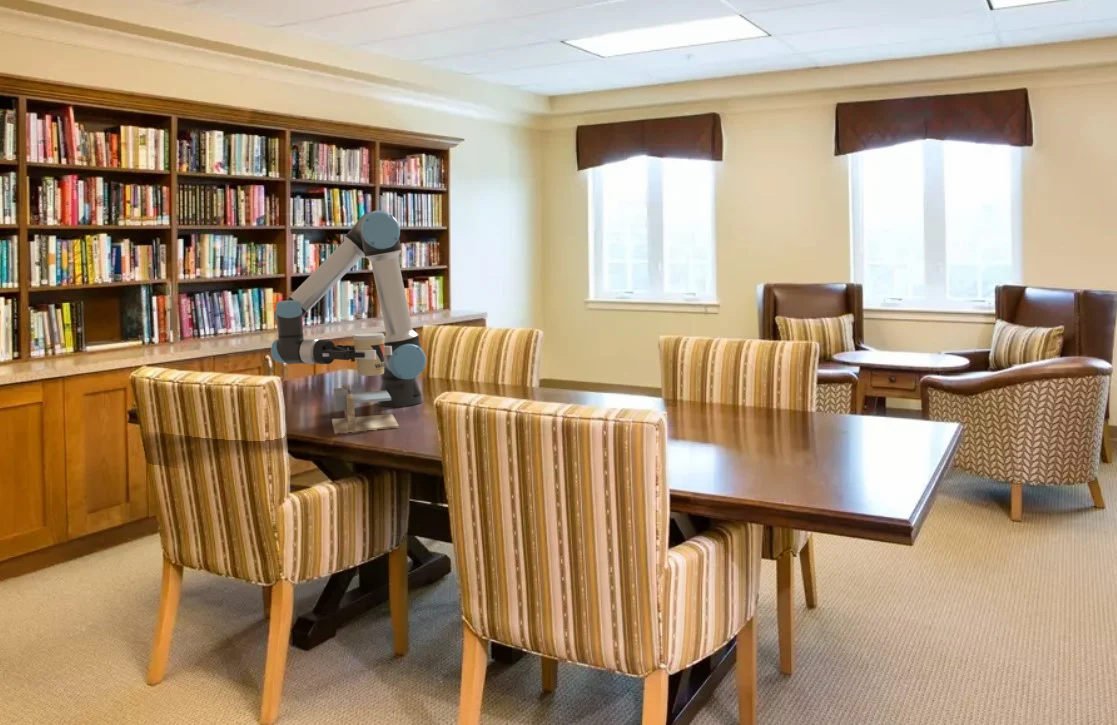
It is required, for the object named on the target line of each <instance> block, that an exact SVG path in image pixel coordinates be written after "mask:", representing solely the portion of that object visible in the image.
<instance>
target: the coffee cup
mask: <svg viewBox="0 0 1117 725" xmlns="http://www.w3.org/2000/svg"><path fill="white" fill-rule="evenodd" d="M385 336H386V335H384V333H383V332H361V333H356V334H354V335H353V337H352V339H353V345H354V347H355V350H376V359H375V360H371V359H356V358H355V362H356V367H357V368H356V370H357V375H358V376H361V377H369V376H370V377H371V376H372V377H373V376H380V375H381V374H384V338H385Z"/></svg>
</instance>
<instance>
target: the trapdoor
mask: <svg viewBox="0 0 1117 725" xmlns="http://www.w3.org/2000/svg"><path fill="white" fill-rule="evenodd" d="M346 394H353V395H354V404H362V403H363V404H364V403H374V402H375V403H376V402H377V403H378V401H390V400H391V397H390V395H389V393H388V392H387V390H384V391H379V390H373V391H372V390H371V391H362V392H361V391H360V392H350V393H349V392H348V389H347V388H343V387H339V388H337V387H336V388H335V387H334V388H333V400H334V406H335V411H336V412H339V411H345V410H347V401H346Z"/></svg>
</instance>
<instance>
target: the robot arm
mask: <svg viewBox="0 0 1117 725" xmlns="http://www.w3.org/2000/svg"><path fill="white" fill-rule="evenodd" d="M400 236H401V226H400V223H399V222H398V220H397V219H396V218H395V217H394V215H392V214H391V213H390V212H387V211H385V210H374V211H369V212H367V213H364V214H363V215H362V216H360V217H359V218H358V219H357V220H356V223H354V226H352V228H351V229H350V230H349V231H348V232H347V233H346V234H345V236H343V242H342V243H341V244H340V245H339V246H338V247H337V248H336V249H335V250H334V251H333V252H332V253H331V254H330V255H329V256H328V257H327V258H326V259H325V260H324V261H323V262H322V263H321V264H320V265H319V266H318V267H317V268H316V269H315V270H314V271H313V273H311V274H310V275H309V276H308V277H307V278H306V279H305V280H304V281H303V282H302V283H301V285H299V286H298V287H297V289H296V290H294V292H292V294H291V295H289V297H287V299H286V300H280V301H277V303H276V304H275V307H276V308H275V310H274V313H273V318H274V320H275V323H276V324H277V331H278V332H277V334H278V337H277V339H275V340H274V341H273V342H272V344H271V348H270V354H271V357H272V359H273V360H274V361H275V362H277V363H279V364H280V363H282V364H288V365H289V364H296V365H298V364H308V365H310V366H311V367H313V366H314V364H317V365H318V364H320V365H330V364H332V363H333V362H334V361H335V360H339V361H340V360H341V361H350V362H351V363H353V362H356V359H371V360H375V359H376V350H355V347H354V344H353V345H352V344H351V345H350V344H349V345H348V344H347V345H346V344H345V345H343V344H337V345H335V343H334V342H333V340H331V339H316V338H315V339H314V338H313V339H312V338H309V339H308V338H307V339H306V338H305V339H304V325H303V318H304V317H305V316H306V314H307V313H308V312H309V311H311V309H312V308H313V307H314V306H315V305H317V303H318V302H319V301H320V300H321V299H322V298H323V297H324V296H325V295H326V294H328V292H329V291H330V290H331V289H333V287H334V286H335V285H336V284H337V283H339V281H340V280H341V279H342V278H343V277H344V276H345V275H346V274H347V273H348V272H349V271H350V270H351V269H352V268H353V267H354V266H355V264H357V263H358V262H359V261H360V260H361V259H368V260H369V262H370V263H371V268H372V272H373V277H374V282H375V287H376V291H377V296H378V302H379V306H380V311H381V315H382V320H383V325H384V330H385V331H384V332H385V335H384V336H385V338H384V374H381V376H380V377H381V383H380V387H379V390H378V391H384V390H387V392H388V393H389V395H390V397H391V400H390V401H377V405H378V406H380V407H385V408H387V407H388V408H389V407H390V408H392V407H393V408H396V407H397V408H398V407H399V408H401V407H408V406H414V405H419V404H422V403H423V402H424V401H423V400H424V399H423V394H422V391H421V388H420V386H419V383H418V381H417V377H418V376H420V375H421V374H422V373H423V371H424V370H425V369H426V365H427V356H426V354H425V351H424V350H423V349H422V347H421V346H422V345H421V340H420V335H419V333H417V331H415V330H414V329H413V325H412V324H413V323H412V320H411V315H410V310H409V305H408V301H407V300H408V299H407V295H406V291H405V285H404V280H403V276H402V270H401V265H400V259H399V255H400V254H401V252H402V246H401V241H400Z"/></svg>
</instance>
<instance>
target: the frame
mask: <svg viewBox="0 0 1117 725" xmlns="http://www.w3.org/2000/svg"><path fill="white" fill-rule="evenodd" d="M342 388H347V389H348V392H349V393H351V385H350V384H348V385H347V384H346V385H343V386H342ZM346 401H347V410H344V417H343V418H342V417H339V418H332V419H331V422H332V428H333V431H334V432H333V433H334V435H338V433H340V434H348V432H352V433H357V432H356V431H363V432H368V431H367V430H374V431H378V430H377V429H385V430H390V429H389V428H397V429H400V426H399V424H398V422H397V420H396V418H395V416H394V415H393V413H389V414H388V413H387V414H378V415H377V414H375V415H374V414H373V415H367V416H366V415H363V416H356V415H355V414H356V413H355V412H356V411H355V403H354V395H353V394H346Z"/></svg>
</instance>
